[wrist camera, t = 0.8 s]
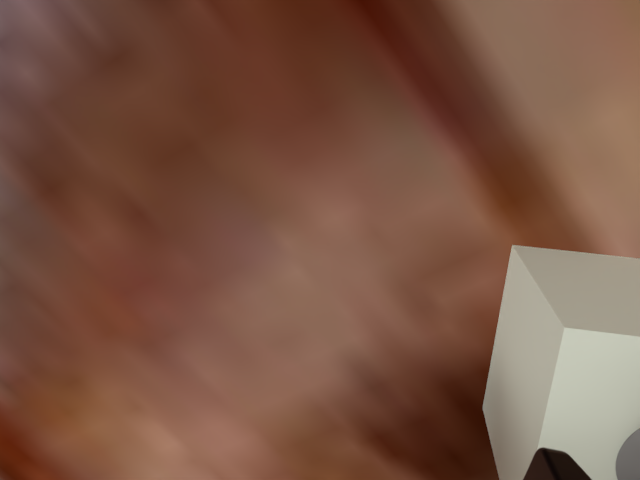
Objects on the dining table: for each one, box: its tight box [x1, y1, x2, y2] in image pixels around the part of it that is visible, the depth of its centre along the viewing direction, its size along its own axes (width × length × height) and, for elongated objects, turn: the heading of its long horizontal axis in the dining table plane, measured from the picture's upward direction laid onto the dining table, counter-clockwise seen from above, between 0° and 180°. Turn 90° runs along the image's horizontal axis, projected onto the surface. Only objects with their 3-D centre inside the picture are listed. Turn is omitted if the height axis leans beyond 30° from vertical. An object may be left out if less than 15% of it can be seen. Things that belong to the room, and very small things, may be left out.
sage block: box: [483, 245, 640, 480], centre depth 19 cm, size 8×8×8 cm
